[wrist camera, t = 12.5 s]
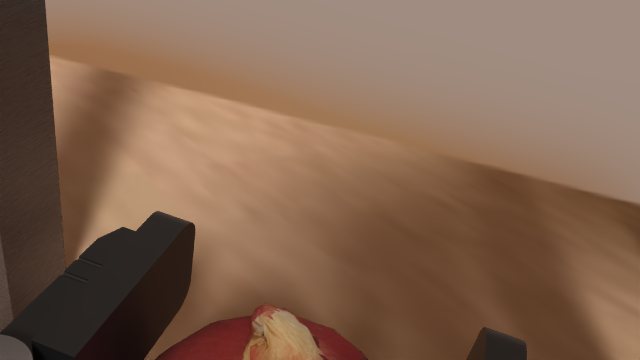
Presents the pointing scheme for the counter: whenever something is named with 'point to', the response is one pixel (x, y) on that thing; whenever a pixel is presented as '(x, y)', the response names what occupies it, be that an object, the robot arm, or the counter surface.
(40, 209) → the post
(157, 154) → the counter surface
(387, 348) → the counter surface
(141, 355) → the robot arm
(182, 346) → the onion
